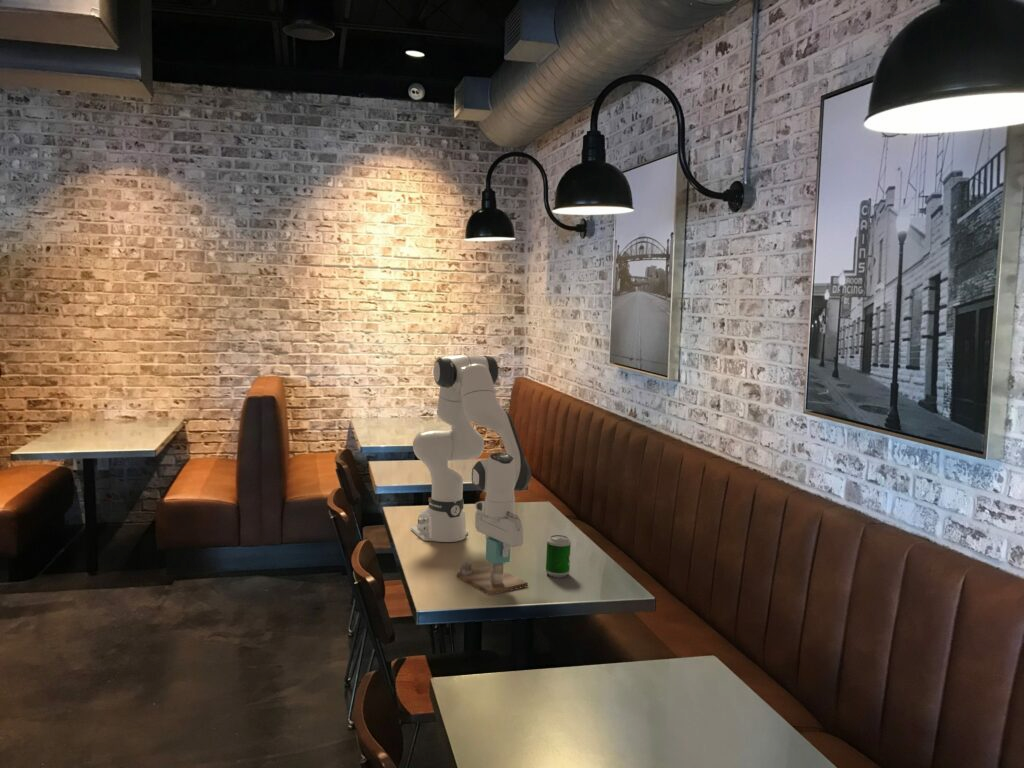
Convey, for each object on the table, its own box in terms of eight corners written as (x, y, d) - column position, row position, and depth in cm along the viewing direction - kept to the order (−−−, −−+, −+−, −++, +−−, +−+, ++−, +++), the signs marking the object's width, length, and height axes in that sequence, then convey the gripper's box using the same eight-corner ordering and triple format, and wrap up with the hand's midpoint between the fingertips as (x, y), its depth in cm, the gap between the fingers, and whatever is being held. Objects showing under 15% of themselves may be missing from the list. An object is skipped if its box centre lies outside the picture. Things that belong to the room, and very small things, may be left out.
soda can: (567, 579, 252) (569, 542, 251) (543, 576, 253) (545, 539, 252) (570, 571, 259) (572, 535, 258) (547, 569, 261) (549, 533, 259)
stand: (456, 576, 250) (457, 553, 249) (493, 569, 259) (494, 547, 258) (489, 594, 236) (490, 571, 235) (527, 586, 244) (528, 563, 243)
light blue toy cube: (485, 559, 243) (486, 538, 242) (499, 556, 246) (500, 535, 246) (495, 564, 239) (496, 542, 238) (509, 561, 242) (510, 540, 241)
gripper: (529, 515, 235) (527, 561, 236) (489, 499, 251) (487, 542, 252) (511, 518, 231) (509, 564, 232) (472, 501, 247) (470, 545, 249)
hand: (497, 553), depth 242 cm, fingers closed on light blue toy cube, 5 cm apart
